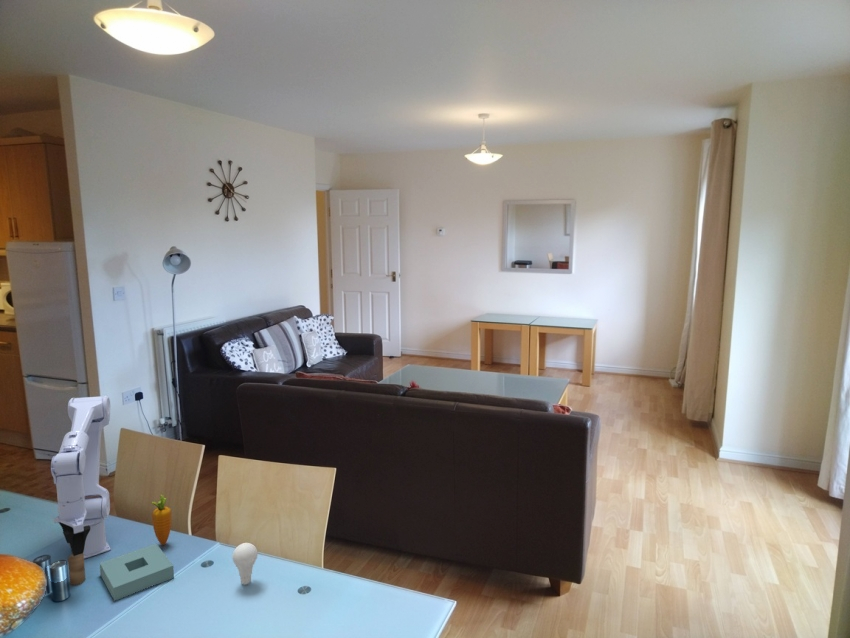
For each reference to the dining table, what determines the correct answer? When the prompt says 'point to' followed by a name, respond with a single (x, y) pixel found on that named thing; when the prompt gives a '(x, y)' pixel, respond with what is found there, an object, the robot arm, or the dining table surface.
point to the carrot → (162, 521)
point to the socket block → (136, 571)
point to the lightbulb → (245, 560)
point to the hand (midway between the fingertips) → (75, 547)
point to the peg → (76, 569)
